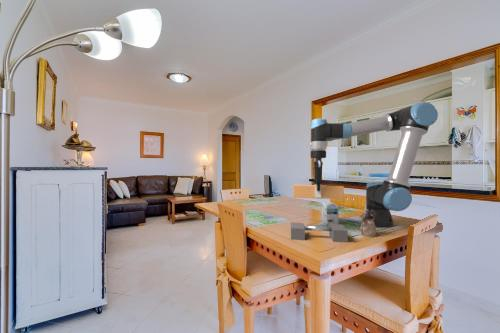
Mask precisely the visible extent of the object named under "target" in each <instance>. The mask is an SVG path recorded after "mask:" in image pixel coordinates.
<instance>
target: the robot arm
mask: <svg viewBox="0 0 500 333" xmlns="http://www.w3.org/2000/svg"><path fill="white" fill-rule="evenodd" d="M438 117H439V114H438V110H437V108H436V106H435V105H433V103H430V102H428V101H422V102H417V103H414V104H412V105H409V106H406V107H404V108H401V109H398V110H396V111H393V112H390V113H385V114H384V115H382V116H380V117H379V116H378V117H373V118H369V119H363V120H358V121H355V122H349V123H344V122H343V123H342V122H340V123H339V122H338V123H333V122H332V123H330V122H329V123H328V121H327V119H326V118H322V117H321V118H319V117H318V118H314V119H312V120H311V123H310V143H309V146H310V158H311V159H315V160H314V162H313V166H314V167H313V170H314V174H313V175H314V178H313V179H314V184H313V185H315V197H317V198H316V199H319V198H321V185H322V183H323V181H322V180H323V164H324V163H323V161H322V159H326V158H327V151H326V150H327V142H332V141H335V140H341V139H344V140H345V139H350V138H352V137H358V136H361V135H362V136H363V135H367V134H372V133H378V132H383V131H385V132H388V133H389V132H392V131H393V132H394V131H395V132H396V131H400V132H401V135H400V138H399V141H398V145H397V147H396V152H395V153H394V154H395V155H394V157H393V161H392V164H391V167H390V172H389V173H388V177H387V178H385V179H383V181H375V182H373V181H371V182H368V183H366V188H365V190H366V192H365V193H366V194H365V196H366V197H365V205H366V206H365V210H366V209H368V210H369V211H371V210H374V212H373V215H374V217H375V219H374V223H375V227H378V228H379V227H381V228H389V227H390V228H391V227H393V226H394V219H393V217H392V213H391V211H393V212H402V211H404V210H406V209H408V208H409V207H410V205H411V204H412V202H413V197H412V195H411V192H410V189H411V185H410V184H409V180H410V176H411V174H412V169H413V166H414V163H415V160H416V157H417V154H418V150H419V147H420V144H421V141H422V138H423V136H425V135H426V134H427V133H428V131H429V128H430V126H431V125H434V124H435V123H436V122H437V120H438ZM370 218H371V219H373V216H371V217H370Z"/></svg>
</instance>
